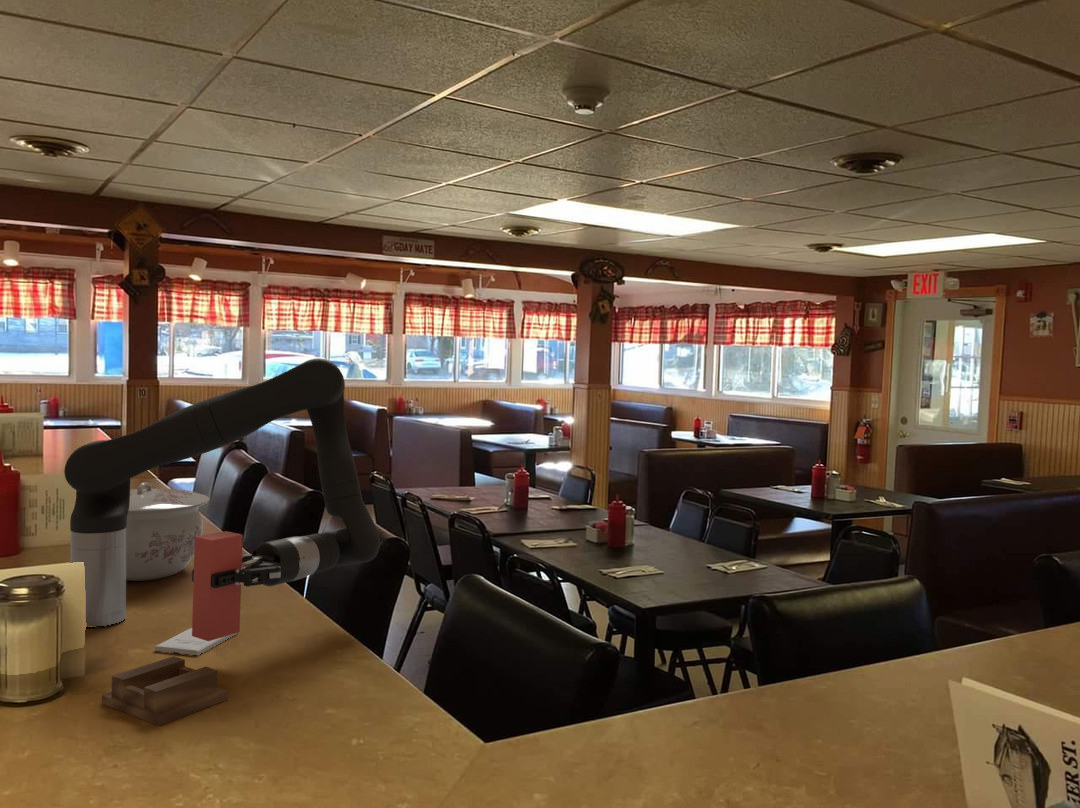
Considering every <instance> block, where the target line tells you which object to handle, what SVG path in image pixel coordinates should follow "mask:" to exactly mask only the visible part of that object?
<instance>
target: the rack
mask: <svg viewBox="0 0 1080 808" xmlns="http://www.w3.org/2000/svg"><path fill="white" fill-rule="evenodd" d="M185 663H186V660H185V659H184V658H180V657H177V656H169V657H168V658H165V659H161V660H158V661H154V662H152V663H151V662H150V663H148V664H145V665H142V666H138V667H135V668H131V669H129V670H125V671H123V672H120V673H116V674H113V675H111V692H107V693H104V694H102V696H101V704H102V705H105V706H107V707H110V708H113V709H115V710H117V711H120V712H123V713H125V714H128V715H130V716H133V717H136V718H138V719H141V720H143V721H145V722H148V723H151V724H153V725H156V726H159V727H161V726H163V725H166V724H168V723H171V722H173V721H176V720H178V719H181V718H184V717H186V716H189V715H192V714H194V713H197V712H199V711H201V710H204V709H206V708H209V707H212V706H214V705H218V704H219V702H220V703H222V702H225V701H227V700H228V691H226V690H223V689H220V688H218V672H219V671H218V669H215V668H212V667H209V666H203V667H200V668H197V669H194V668H191V667H188V666H186V665H185Z"/></svg>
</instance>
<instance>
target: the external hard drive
mask: <svg viewBox="0 0 1080 808" xmlns="http://www.w3.org/2000/svg"><path fill="white" fill-rule="evenodd" d="M234 635H235V636H236V635H238V634H237V633H235V634H231V635H228V636H225V637H221V638H218V639H215V640H211V641H206V640H203V639H200V638H196V637H193V636H192V627H190V628H188V629H186V630H185V631H182V632H181V633H179V634H177V635H175V636H173V637H170V638H169V639H167V640H165V641H163V642H161V643H159V644H156V645H155V646H153V647H154V649H153V651H154V652H155V651H162V652H161V653H165V652H170V653H169V654H178V653H181V654H180V655H183V654H190V655H189V656H192V655H199V656H201V655H202V654H201V653H203V654H204V652H205V651H206V652H208V651H210V650H212V649H213V648H215V647H217V646H218V644H219V645H220V643H221V644H223V643H224V642H226V641H228V640H229V639H231V638H233V637H235V636H234ZM232 636H233V637H232ZM230 637H231V638H230ZM228 638H229V639H228ZM227 639H228V640H227ZM225 640H226V641H225ZM223 641H224V642H223ZM216 645H217V646H216ZM212 647H213V648H212ZM211 648H212V649H211ZM209 649H210V650H209ZM207 650H208V651H207ZM174 652H175V653H174ZM206 652H205V653H206ZM200 654H201V655H200Z"/></svg>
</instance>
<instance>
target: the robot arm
mask: <svg viewBox="0 0 1080 808" xmlns="http://www.w3.org/2000/svg"><path fill="white" fill-rule="evenodd" d="M345 382H346V381H345V378H344V375H343V373H342V370H341V369H340V368H339V367H338V366H337V365H336V364H335V362H332V361H331V360H329V359H325V358H318V357H317V358H312V359H308V360H306V361H304V362H302V363H300V364H298V365H296V366H294V367H292V368H290V369H289V370H287V371H285V372H282V373H280V374H278V375H276V376H274V377H272V378H270V379H267V380H265V381H262V382H260V383H256V384H253V385H248V386H245V387H242V388H238V389H234V390H231V391H228V392H225V393H222V394H218V395H216V396H212V397H209V398H207V399H204V400H202V401H199V402H196V403H193V404H190V405H188V406H186V407H184V408H181V409H179V410H177V411H174V412H173V413H170V414H168V415H167V416H165V417H164V416H163V418H161V419H159V420H157V421H155V422H153V423H151V424H149V425H147V426H144V427H143V428H141V429H139V430H136V431H133V432H131V433H127V434H124V435H121V436H118V437H114V438H110V439H105V440H104V439H102V440H96V441H92V442H89V443H87V444H84V445H81V446H79V447H78V448H76V449H75V450H74V451H73V452H72V453H71V454H70V455H69V457H68V459H67V460H66V462H65V466H64V470H63V472H64V478H65V480H66V482H67V484H68V485H69V486H70V487H71V488H72V489H74V490H75V491H76V492H75V502H74V507H73V510H72V513H71V515H70V523H69V524H70V525H69V526H70V527H69V528H70V532H69V533H70V537H69V539H70V542H69V543H70V550H69V551H70V556H69V557H70V558H69V560H70V563H73V562H84V566H85V590H86V623H87V627H88V626H89V627H90V626H104V627H108V626H107V625H109V626H112V625H111V624H114V625H116V624H115V623H117V624H120V623H122V622H123V620H124V619H125V620H126V617H127V581H126V532H127V527H126V526H127V515H128V511H129V504H130V489H131V479H132V478H134V477H136V476H138V475H140V474H142V473H145V472H148V471H150V470H152V469H155V468H158V467H161V466H162V467H163V466H165V465H169V464H172V463H173V464H174V463H176V462H180V461H183V460H187V459H191V458H194V457H197V456H200V455H204V454H207V453H209V452H213V451H215V450H217V449H220V448H222V447H224V446H227V445H230V444H233V443H235V442H238V441H239V440H241V439H244V438H245V437H247V436H249V435H250V434H251V435H252V434H253V433H254V432H256V431H257V430H259V429H262V428H263V427H264V426H266V425H267V424H270V423H271V422H273V421H276V420H279V419H280V418H283V417H285V416H288V415H292V414H296V413H298V412H302V411H305V410H306V411H307V414H308V416H309V419H310V423H311V427H312V429H313V433H314V441H315V446H316V455H317V456H316V457H317V466H318V473H319V475H318V476H319V481H320V484H321V485H320V487H321V490H322V495H323V501H324V506H325V510H326V512H327V514H328V515H330V516H331V517H335V518H336V517H337V518H340V519H341V520H342V522H343V523H344V525H345V527H342V528H337V529H332V530H329V531H326V532H322V533H321V532H319V533H312V534H307V535H301V536H290V537H285V538H281V539H275V540H270V541H265V542H262V543H260V544H258V545H257V546H256V547H255V549H254V550H253V552H252V553H246V554H242V567H238V568H235V569H234V572H233V570H228V571H223V572H219V573H214V574H212V576H211V587H213V588H219V587H223V586H227V585H231V584H233V585H240V584H241V585H243V586H244V587H253V586H260V585H262V586H263V585H264V587H265V586H266V587H273V586H278V585H282V584H285V583H290V582H294V581H297V580H300V579H304V578H306V577H308V576H311V575H314V574H319V573H323V572H326V571H329V570H330V569H332V568H336V567H341V566H347V565H354V564H355V565H356V564H360V563H361V564H362V563H363V564H364V563H368V562H371V561H372V560H374V559H375V558H376V557H377V555H378V553H379V551H380V544H381V541H380V540H381V539H380V535H379V531H378V529H377V526H376V525H375V524H376V523H375V522H374V520H373V518H372V516H371V514H370V512H369V509H368V508H367V506H366V504H365V501H364V499H363V495H362V490H361V486H360V480H359V477H358V476H359V475H358V471H357V467H356V464H355V459H354V454H353V451H352V447H351V444H350V441H349V435H348V430H347V424H346V415H345V414H346V413H345V386H346V384H345ZM70 563H69V564H70ZM191 581H192V583H193V581H194V568H193V569H192V571H191ZM125 620H124V621H125ZM121 621H122V622H121ZM119 622H120V623H119Z"/></svg>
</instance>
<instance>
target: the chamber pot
mask: <svg viewBox="0 0 1080 808" xmlns="http://www.w3.org/2000/svg"><path fill="white" fill-rule="evenodd" d="M210 500H211V498H210V497H209V496H208V495H206V494H203V493H199V492H195V491H191V490H184V489H173V488H153V485H152V483H151V482H147V481H144V482H141V483H140V484H139V485H138V486H137V488H130V504H129V511H128V515H127V526H126V527H127V532H126V582H127V581H129V582H143V581H146V582H147V581H155V580H159V579H160V580H161V579H164V578H167V577H168V578H169V577H171V576H173V575H175V574H176V575H177V573H180V572H182V571H183V570H185V569H186V568H187V567H188V566H189V564H190V562H191V561H192V559H194V547H195V536H201V535H203V531H204V518H203V516H202V515H201V513H200V512H199V507H201V506H204V505H206V504H208V503H209V502H210Z"/></svg>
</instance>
